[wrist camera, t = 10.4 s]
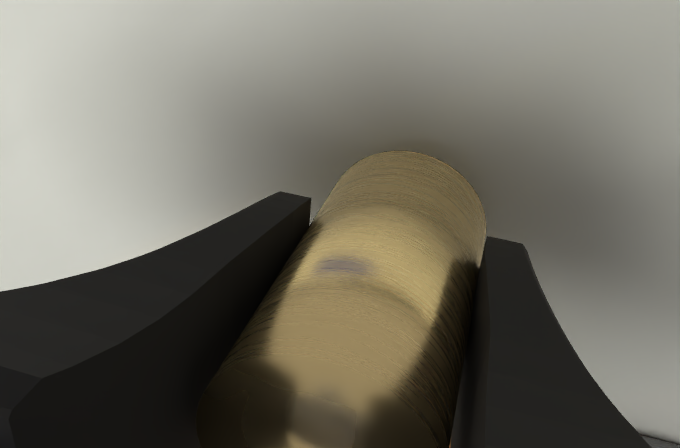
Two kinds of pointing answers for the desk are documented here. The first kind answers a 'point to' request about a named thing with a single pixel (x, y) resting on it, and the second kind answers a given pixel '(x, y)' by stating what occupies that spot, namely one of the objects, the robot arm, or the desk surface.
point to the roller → (360, 319)
